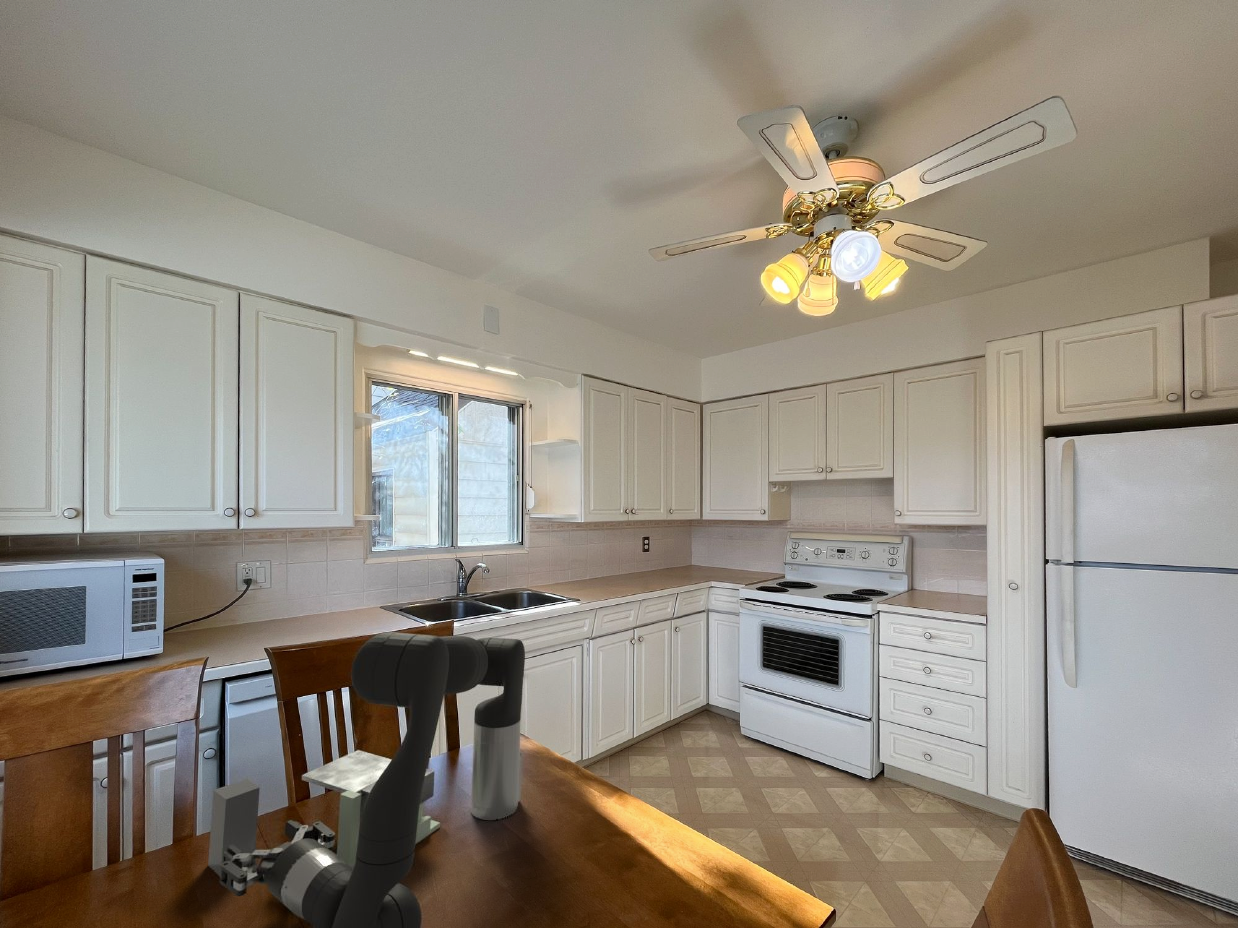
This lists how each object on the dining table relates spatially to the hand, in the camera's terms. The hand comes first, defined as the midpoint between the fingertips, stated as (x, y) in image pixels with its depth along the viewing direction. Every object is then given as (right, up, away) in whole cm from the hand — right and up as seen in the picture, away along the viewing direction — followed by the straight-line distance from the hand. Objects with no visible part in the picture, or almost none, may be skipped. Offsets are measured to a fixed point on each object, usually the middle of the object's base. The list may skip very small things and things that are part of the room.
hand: (258, 838), depth 90 cm
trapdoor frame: (+15, -8, +11) cm, 20 cm away
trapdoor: (+12, -1, +13) cm, 17 cm away
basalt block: (-8, -7, +5) cm, 12 cm away
